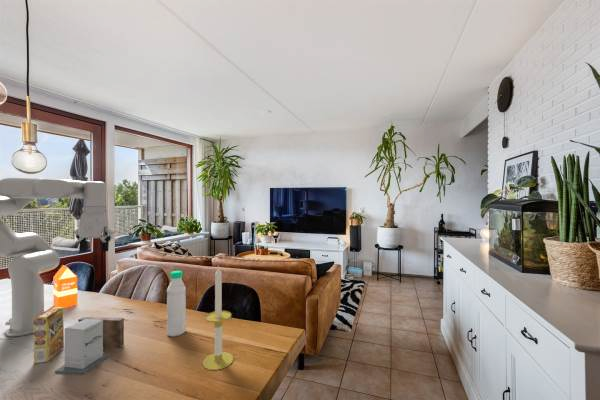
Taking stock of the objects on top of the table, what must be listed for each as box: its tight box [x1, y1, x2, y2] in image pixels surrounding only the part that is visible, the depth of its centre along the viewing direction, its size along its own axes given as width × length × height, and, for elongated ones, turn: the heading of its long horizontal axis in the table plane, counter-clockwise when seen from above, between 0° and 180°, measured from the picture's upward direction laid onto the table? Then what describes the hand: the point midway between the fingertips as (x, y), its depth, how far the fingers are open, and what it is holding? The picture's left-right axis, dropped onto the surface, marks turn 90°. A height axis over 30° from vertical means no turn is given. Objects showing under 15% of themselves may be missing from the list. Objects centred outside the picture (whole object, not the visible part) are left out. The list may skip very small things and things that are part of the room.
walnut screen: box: [77, 316, 125, 349], centre depth 101 cm, size 16×2×10 cm, turn 87°
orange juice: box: [52, 264, 78, 309], centre depth 140 cm, size 8×9×20 cm
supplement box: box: [63, 319, 104, 369], centre depth 90 cm, size 7×7×13 cm
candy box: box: [33, 306, 65, 364], centre depth 94 cm, size 9×4×15 cm, turn 13°
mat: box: [54, 353, 111, 375], centre depth 90 cm, size 10×10×1 cm
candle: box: [202, 264, 234, 371], centre depth 91 cm, size 10×10×32 cm
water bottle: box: [166, 270, 187, 337], centre depth 111 cm, size 7×7×25 cm
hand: (94, 251), depth 115 cm, fingers open, 9 cm apart
